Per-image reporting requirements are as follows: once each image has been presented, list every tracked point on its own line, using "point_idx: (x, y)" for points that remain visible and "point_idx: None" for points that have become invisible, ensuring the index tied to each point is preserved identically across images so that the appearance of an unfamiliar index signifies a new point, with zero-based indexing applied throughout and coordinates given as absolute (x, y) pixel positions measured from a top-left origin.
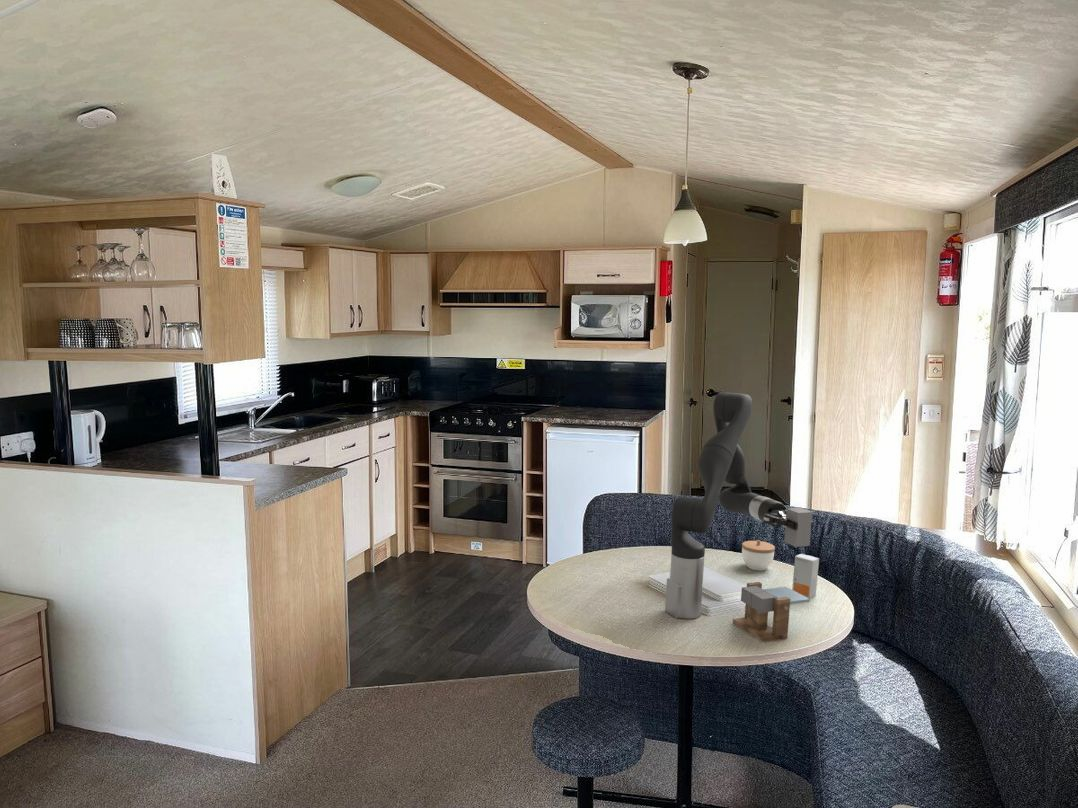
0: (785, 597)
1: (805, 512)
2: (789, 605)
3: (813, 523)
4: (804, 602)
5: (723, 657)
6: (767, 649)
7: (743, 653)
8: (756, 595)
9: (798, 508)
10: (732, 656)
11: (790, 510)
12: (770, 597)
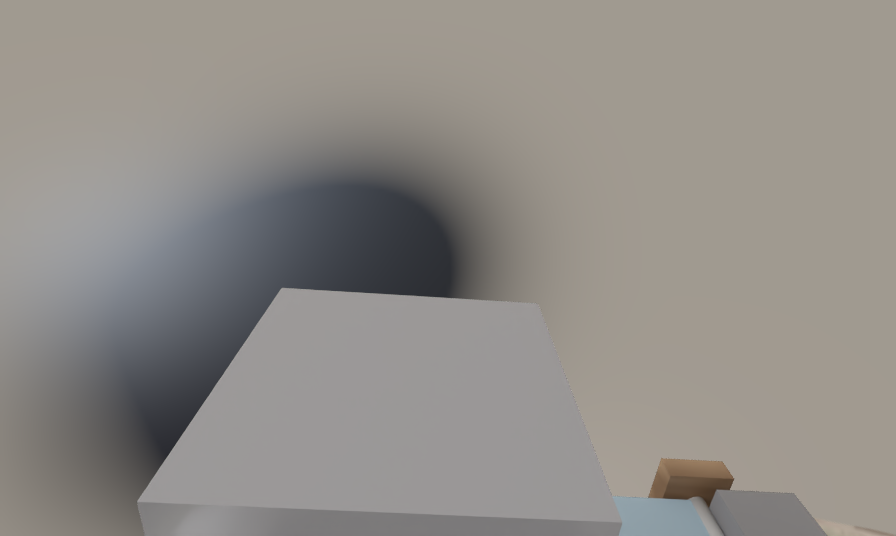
0: (679, 472)
1: (408, 298)
2: (656, 479)
3: None
4: None
5: (879, 531)
6: None
7: None
8: (822, 532)
9: (303, 456)
10: (848, 527)
11: (580, 436)
12: (751, 495)
